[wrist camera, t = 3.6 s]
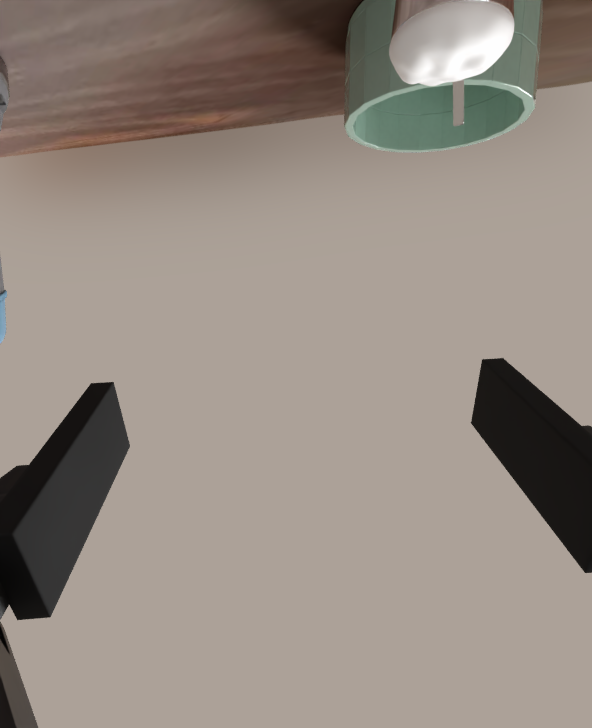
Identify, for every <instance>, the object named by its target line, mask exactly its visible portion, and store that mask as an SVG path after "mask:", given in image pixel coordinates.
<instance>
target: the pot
mask: <svg viewBox="0 0 592 728" xmlns="http://www.w3.org/2000/svg"><path fill="white" fill-rule="evenodd" d="M395 1H396V0H364V1H363V2H362V3H361V4H360V5H359V6H358V8H357V9H356V10H355V12H354V14H353V15H352V17H351V19H350V22H349V25H348V29H347V40H346V56H345V115H344V121H345V122H344V127H345V129H346V132H347V135H348V136H349V137H350V138H351V139H353V140H354V141H356V142H357V143H358V144H361V145H364V146H367V147H370V148H373V149H378V150H385V151H391V152H416V153H417V152H430V151H441V150H448V149H453V148H459V147H465V146H469V145H473V144H476V143H479V142H483V141H487V140H489V139H492V138H495V137H497V136H500V135H502V134H504V133H507V132H509V131H511V130H513V129H514V128H516V127H517V126H518V125H520V124H521V123H523V122H524V121H526V120H527V119H528V117H529V115H530V114H531V113H532V111H533V110H534V108H535V100H536V89H537V77H538V65H539V54H540V42H541V30H542V18H543V11H542V5H543V0H514V33H513V37H512V40H511V42H510V44H509V46H508V47H507V49H506V50H505V52H504V53H503V54H502V55H501V56H500V58H499V59H498V60H497V61H496V62H495V63H494V64H493V65H492V66H491V67H489V68H488V69H487V70H486V71H484V72H483V73H481V74H479V75H476V76H473V77H469V78H466V79H464V124H463V125H460V126H453V82H446V83H442V84H440V85H436V86H427V85H423V84H420V83H417V84H408V83H406V82H404V81H403V80H402V79H401V78H400V77H399V75H398V74H397V72H396V70H395V68H394V66H393V64H392V62H391V59H390V56H389V47H390V42H391V33H392V25H393V17H394V9H395Z"/></svg>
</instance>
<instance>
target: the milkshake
mask: <svg viewBox="0 0 592 728" xmlns="http://www.w3.org/2000/svg"><path fill="white" fill-rule="evenodd" d="M513 33H514V0H396V1H395V9H394V17H393V25H392V33H391V42H390V47H389V56H390V59H391V62H392V64H393V66H394V68H395V70H396V72H397V74H398V75H399V77H400V78H401V79H402V80H403V81H404V82H406V83H408V84H417V83H420V84H423V85H427V86H436V85H440V84H442V83H446V82H453V126H460V125H463V124H464V79H466V78H469V77H473V76H476V75H479V74H481V73H483V72H484V71H486V70H487V69H488V68H489V67H491V66H492V65H493V64H494V63H495V62H496V61H497V60H498V59H499V58H500V56H501V55H502V54H503V53H504V52H505V50H506V49H507V47H508V46H509V44H510V42H511V40H512V37H513Z"/></svg>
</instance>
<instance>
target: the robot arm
mask: <svg viewBox="0 0 592 728" xmlns="http://www.w3.org/2000/svg"><path fill="white" fill-rule="evenodd" d="M8 99H9V83H8V73H7V68H6V65H5V63H4V61H3V60H2V58H1V57H0V130H1V126H2V120H3V114H4V112H5V111H6V109H7V106H8ZM6 297H7V291H6V290H4V286H3V278H2V267H1V259H0V343H1V342H2V341H3V339H4V337H5V333H6V317H5V298H6ZM471 424H472V425H473V426H474V428H475V429H476V430H477V432H478V433H479V434H480V436H481V437H482V438H483V439H484V441H485V442H486V443H487V445H488V446H489V447H490V449H491V450H492V451H493V453H494V454H495V455H496V456H497V458H498V459H499V460H500V462H501V463H502V464H503V466H504V467H505V468H506V470H507V471H508V472H509V474H510V475H511V476H512V477H513V479H514V480H515V481H516V483H517V484H518V485H519V487H520V488H521V489H522V491H523V492H524V493H525V495H526V496H527V497H528V498H529V500H530V501H531V503H532V504H533V505H534V506H535V508H536V509H537V510H538V512H539V513H540V514H541V516H542V517H543V518H544V519H545V521H546V522H547V524H548V525H549V526H550V527H551V529H552V530H553V531H554V533H555V534H556V535H557V537H558V538H559V539H560V540H561V542H562V543H563V545H564V546H565V547H566V548H567V550H568V551H569V552H570V554H571V555H572V556H573V558H574V559H575V560H576V561H577V563H578V564H579V566H580V567H581V568H582V569H583V571H584V572H585V573H591V572H592V427H591V426H581V425H580V424H579V423H577V422H576V421H575V420H574V419H573V418H572V417H571V416H569V415H568V414H567V413H566V412H565V411H563V410H562V409H561V408H560V407H559V406H558V405H556V404H555V403H554V402H553V401H552V400H551V399H550V398H548V397H547V396H546V395H545V394H544V393H543V392H542V391H540V390H539V389H538V388H537V387H536V386H535V385H533V384H532V383H531V382H530V381H529V380H528V379H526V378H525V377H524V376H523V375H522V374H521V373H520V372H518V371H517V370H516V369H515V368H514V367H513V366H511V365H510V364H509V363H508V362H507V361H506V360H504V359H503V358H500V359H483V360H482V364H481V370H480V375H479V382H478V387H477V392H476V398H475V404H474V410H473V415H472V422H471ZM129 447H130V444H129V441H128V437H127V433H126V429H125V425H124V421H123V417H122V413H121V409H120V406H119V402H118V398H117V394H116V390H115V387H114V382H109V383H108V382H107V383H91V384H90V386H89V387H88V388H87V390H86V391H85V392H84V394H83V395H82V396H81V398H80V399H79V400H78V401H77V403H76V404H75V405H74V407H73V408H72V409H71V411H70V412H69V413H68V415H67V416H66V417H65V419H64V420H63V421H62V422H61V424H60V425H59V427H58V428H57V429H56V430H55V432H54V433H53V434H52V435H51V437H50V438H49V440H48V441H47V442H46V443H45V445H44V446H43V447H42V449H41V450H40V451H39V453H38V454H37V455H36V456H35V458H34V459H33V460H32V462H31V463H30V465H21V466H16V467H15V468H13V469H12V470H11V471H9V472H8V473H7V474H5V475H4V476H3V477H1V478H0V619H1V618H2V616H3V614H4V612H5V610H6V609H7V607H8V605H10V607H11V608H12V610H13V612H14V614H15V616H16V618H17V620H23V619H34V618H47V617H51V615H52V613H53V610H54V608H55V606H56V604H57V602H58V600H59V598H60V595H61V593H62V591H63V589H64V587H65V585H66V582H67V580H68V578H69V576H70V574H71V572H72V570H73V567H74V565H75V563H76V561H77V559H78V556H79V555H80V552H81V550H82V548H83V546H84V544H85V542H86V540H87V537H88V535H89V533H90V531H91V529H92V527H93V524H94V522H95V520H96V518H97V516H98V514H99V512H100V509H101V507H102V505H103V503H104V501H105V499H106V496H107V494H108V492H109V490H110V488H111V486H112V484H113V482H114V479H115V477H116V475H117V473H118V471H119V469H120V466H121V464H122V462H123V460H124V458H125V456H126V454H127V451H128V449H129ZM0 728H38V726H37V723H36V720H35V717H34V714H33V711H32V708H31V705H30V702H29V699H28V697H27V694H26V691H25V688H24V685H23V682H22V679H21V676H20V673H19V670H18V668H17V665H16V662H15V659H14V656H13V653H12V650H11V647H10V644H9V642H8V639H7V636H6V633H5V630H4V628H3V626H2V624H1V622H0Z"/></svg>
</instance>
